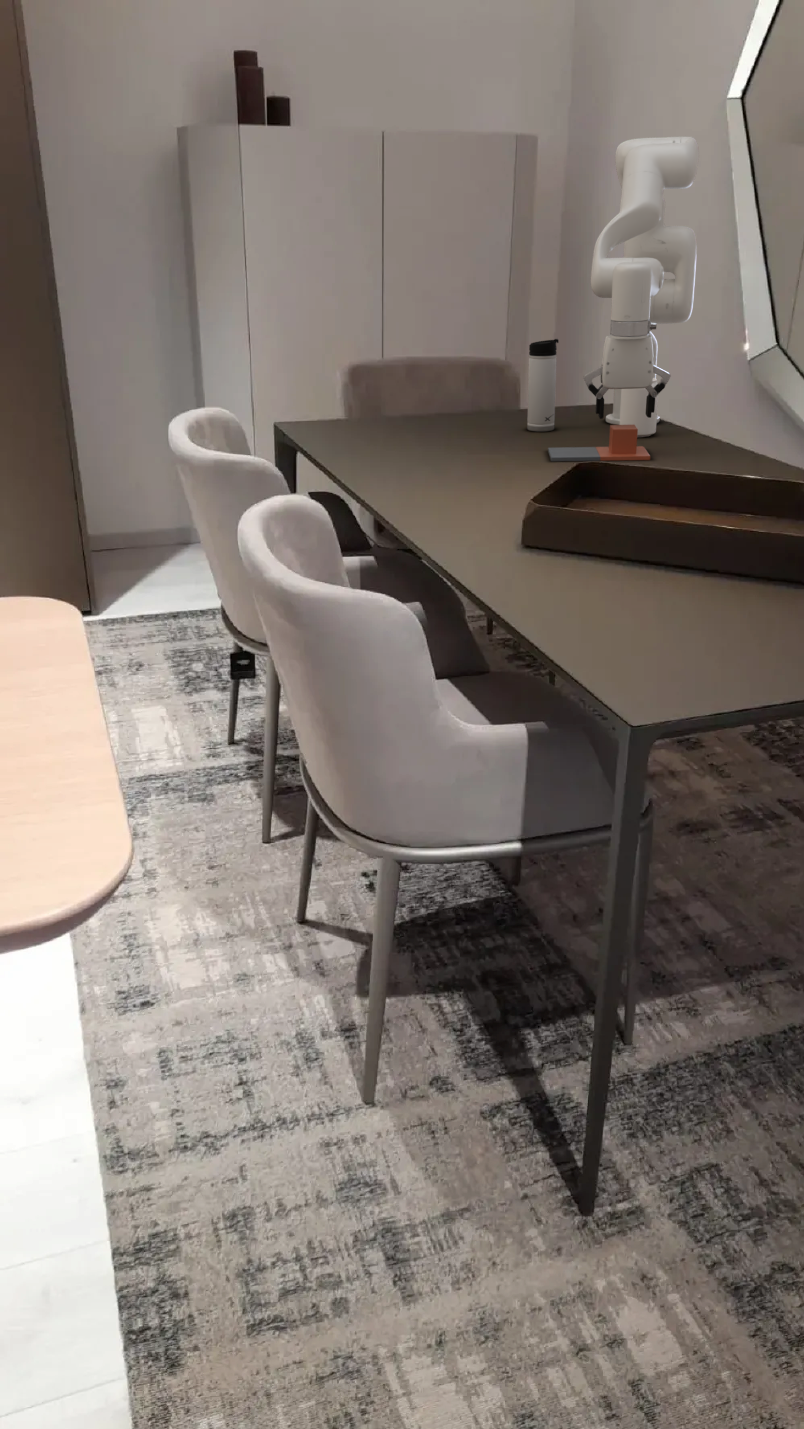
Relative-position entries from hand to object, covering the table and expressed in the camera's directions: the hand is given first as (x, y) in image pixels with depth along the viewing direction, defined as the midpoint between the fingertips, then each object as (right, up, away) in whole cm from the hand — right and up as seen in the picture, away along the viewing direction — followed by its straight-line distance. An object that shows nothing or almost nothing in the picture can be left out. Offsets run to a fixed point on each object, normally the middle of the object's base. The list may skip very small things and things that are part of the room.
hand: (624, 416), depth 226 cm
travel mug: (-13, +5, +31) cm, 34 cm away
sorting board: (-5, -7, +3) cm, 9 cm away
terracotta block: (0, -7, +2) cm, 7 cm away
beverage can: (+7, +2, +22) cm, 23 cm away
